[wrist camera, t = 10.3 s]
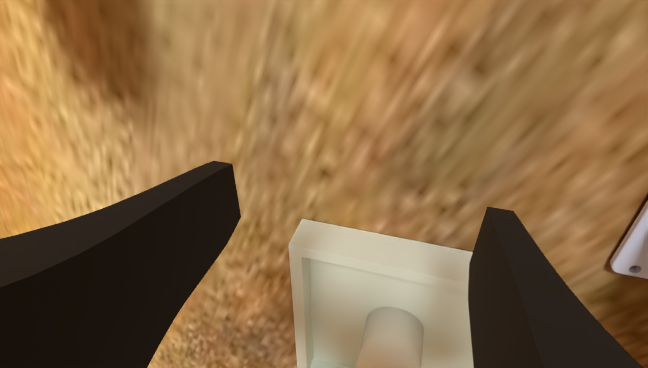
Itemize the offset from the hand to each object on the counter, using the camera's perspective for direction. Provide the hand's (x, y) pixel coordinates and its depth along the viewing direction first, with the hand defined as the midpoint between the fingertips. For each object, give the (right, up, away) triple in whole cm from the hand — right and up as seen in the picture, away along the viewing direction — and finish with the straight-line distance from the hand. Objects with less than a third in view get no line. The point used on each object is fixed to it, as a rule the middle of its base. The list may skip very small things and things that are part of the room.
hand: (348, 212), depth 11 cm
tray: (+5, -9, +16) cm, 19 cm away
